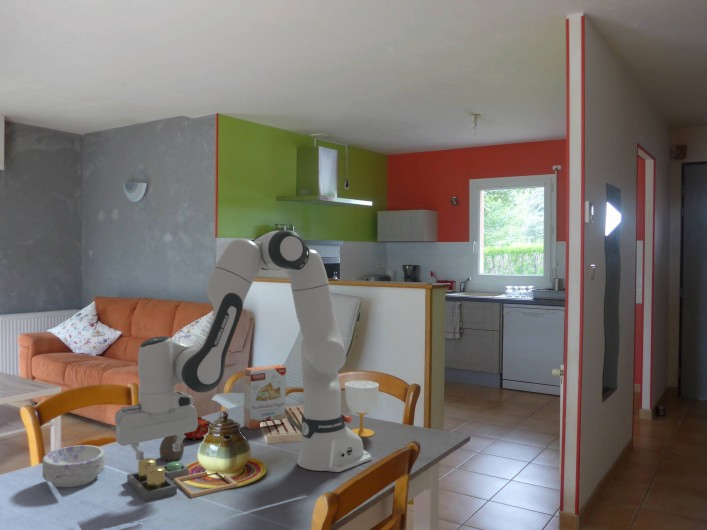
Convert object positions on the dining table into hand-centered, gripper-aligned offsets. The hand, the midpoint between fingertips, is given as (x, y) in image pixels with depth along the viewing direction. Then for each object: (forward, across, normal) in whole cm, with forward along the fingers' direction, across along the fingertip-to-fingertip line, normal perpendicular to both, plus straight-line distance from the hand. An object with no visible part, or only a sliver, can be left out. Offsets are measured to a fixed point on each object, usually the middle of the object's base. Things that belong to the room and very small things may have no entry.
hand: (158, 454), depth 155 cm
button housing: (+11, +7, +9) cm, 16 cm away
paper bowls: (+10, -16, +22) cm, 29 cm away
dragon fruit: (+11, +26, +39) cm, 48 cm away
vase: (+11, +11, +22) cm, 27 cm away
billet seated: (+10, -1, +8) cm, 12 cm away
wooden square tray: (+11, +12, -2) cm, 16 cm away
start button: (+10, +7, +9) cm, 15 cm away
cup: (+13, +74, +12) cm, 76 cm away
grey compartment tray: (+11, -1, +4) cm, 11 cm away
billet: (+10, -1, 0) cm, 10 cm away
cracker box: (+12, +52, +39) cm, 66 cm away
